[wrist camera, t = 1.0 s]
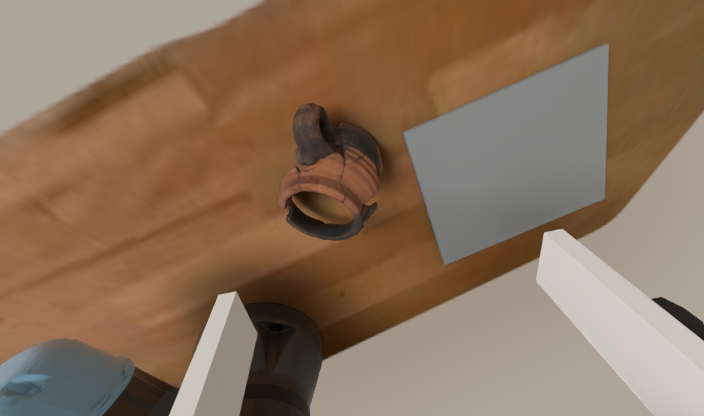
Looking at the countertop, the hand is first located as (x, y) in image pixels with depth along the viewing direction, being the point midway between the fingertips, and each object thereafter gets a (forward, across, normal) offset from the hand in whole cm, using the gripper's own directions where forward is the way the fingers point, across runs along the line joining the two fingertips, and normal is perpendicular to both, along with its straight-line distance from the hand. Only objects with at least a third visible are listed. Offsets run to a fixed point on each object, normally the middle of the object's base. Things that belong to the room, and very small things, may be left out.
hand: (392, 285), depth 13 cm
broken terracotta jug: (+18, +3, 0) cm, 18 cm away
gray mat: (+19, -16, +6) cm, 26 cm away
